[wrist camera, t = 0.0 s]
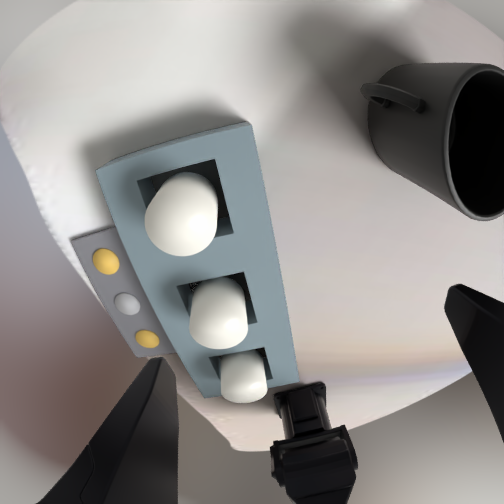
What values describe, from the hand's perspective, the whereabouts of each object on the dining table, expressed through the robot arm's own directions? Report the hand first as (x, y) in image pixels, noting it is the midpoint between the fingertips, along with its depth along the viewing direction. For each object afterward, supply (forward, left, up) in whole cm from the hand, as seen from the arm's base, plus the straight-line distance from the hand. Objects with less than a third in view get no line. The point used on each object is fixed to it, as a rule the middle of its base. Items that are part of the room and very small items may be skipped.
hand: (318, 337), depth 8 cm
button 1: (+1, +5, -13) cm, 14 cm away
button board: (-7, +5, -15) cm, 17 cm away
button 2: (-15, +5, -13) cm, 21 cm away
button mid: (-7, +5, -13) cm, 15 cm away
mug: (+4, -12, -15) cm, 19 cm away
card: (-7, +13, -15) cm, 21 cm away
